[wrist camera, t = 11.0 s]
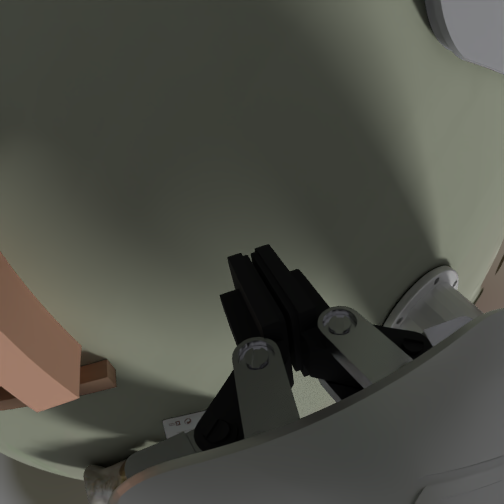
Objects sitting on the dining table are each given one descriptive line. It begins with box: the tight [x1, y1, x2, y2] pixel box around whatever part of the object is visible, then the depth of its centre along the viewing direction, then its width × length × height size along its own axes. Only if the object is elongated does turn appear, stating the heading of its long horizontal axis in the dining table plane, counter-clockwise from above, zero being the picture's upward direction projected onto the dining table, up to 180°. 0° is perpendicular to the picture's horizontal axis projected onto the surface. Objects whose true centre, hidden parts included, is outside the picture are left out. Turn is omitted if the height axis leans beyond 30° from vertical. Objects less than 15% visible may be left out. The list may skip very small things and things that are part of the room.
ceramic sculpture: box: [84, 459, 127, 504], centre depth 22 cm, size 11×9×15 cm
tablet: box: [425, 0, 504, 75], centre depth 11 cm, size 16×26×2 cm, turn 99°
